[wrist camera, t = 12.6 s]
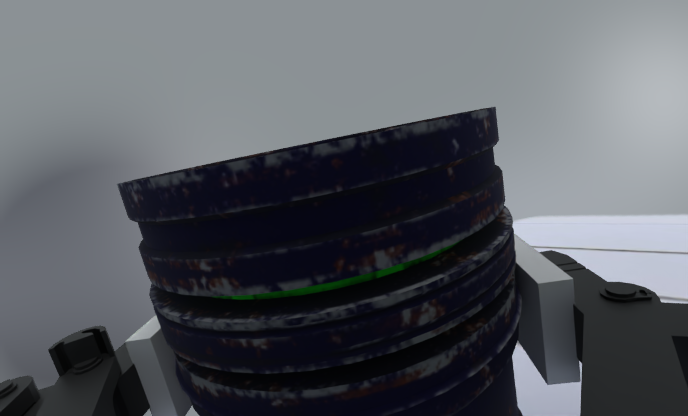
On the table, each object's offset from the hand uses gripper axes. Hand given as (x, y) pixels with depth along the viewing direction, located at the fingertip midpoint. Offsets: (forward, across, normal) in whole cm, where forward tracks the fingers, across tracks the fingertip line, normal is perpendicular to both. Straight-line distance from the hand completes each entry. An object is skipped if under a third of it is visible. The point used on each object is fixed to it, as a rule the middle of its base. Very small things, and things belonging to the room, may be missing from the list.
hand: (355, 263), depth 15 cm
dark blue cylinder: (-4, 0, -10) cm, 11 cm away
